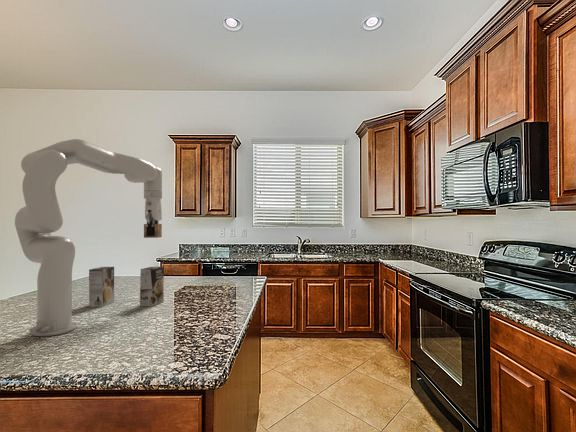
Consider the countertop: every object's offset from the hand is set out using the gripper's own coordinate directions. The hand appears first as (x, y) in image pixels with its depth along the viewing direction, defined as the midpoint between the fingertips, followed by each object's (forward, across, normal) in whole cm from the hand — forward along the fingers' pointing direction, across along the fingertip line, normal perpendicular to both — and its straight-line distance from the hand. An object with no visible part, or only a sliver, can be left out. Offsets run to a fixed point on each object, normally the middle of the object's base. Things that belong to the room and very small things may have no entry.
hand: (152, 235), depth 149 cm
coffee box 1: (+31, +2, +22) cm, 38 cm away
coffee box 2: (+31, 0, 0) cm, 31 cm away
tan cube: (+1, 0, 0) cm, 1 cm away
